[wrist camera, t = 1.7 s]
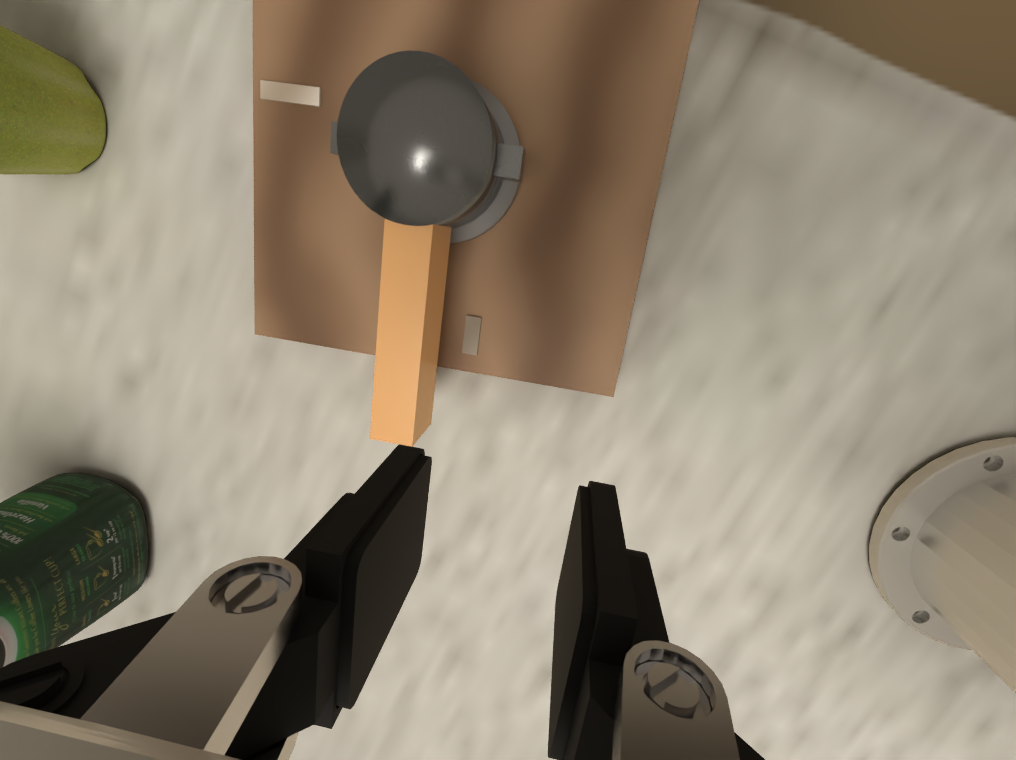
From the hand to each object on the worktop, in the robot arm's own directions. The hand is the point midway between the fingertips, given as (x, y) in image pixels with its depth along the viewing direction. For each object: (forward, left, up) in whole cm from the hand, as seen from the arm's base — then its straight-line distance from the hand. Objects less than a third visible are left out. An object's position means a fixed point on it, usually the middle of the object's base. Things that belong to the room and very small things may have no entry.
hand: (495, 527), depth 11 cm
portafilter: (+6, -4, -14) cm, 16 cm away
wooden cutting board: (+6, -9, -17) cm, 20 cm away
